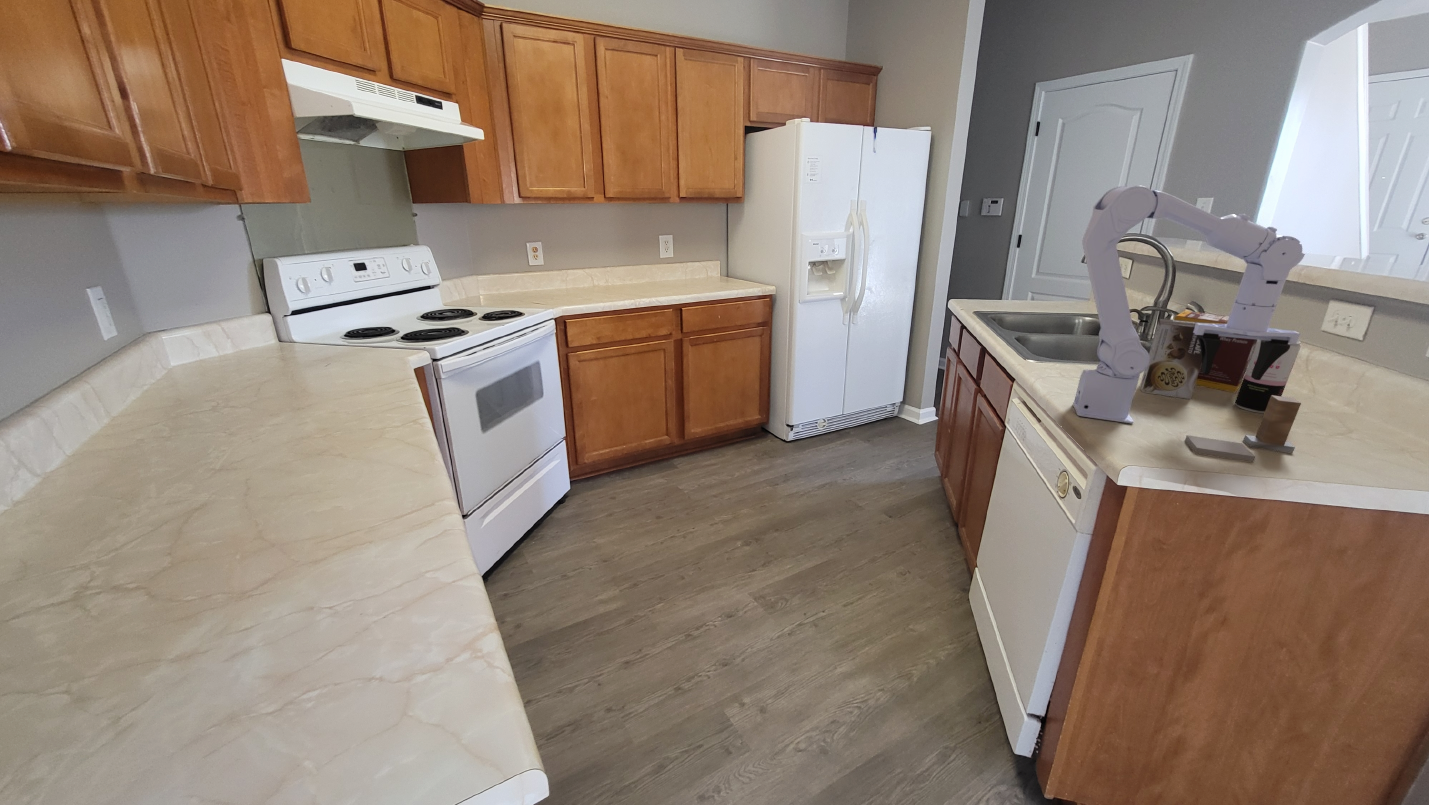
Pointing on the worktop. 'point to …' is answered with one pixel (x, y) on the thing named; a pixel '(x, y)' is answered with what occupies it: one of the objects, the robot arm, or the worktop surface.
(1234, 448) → the tile
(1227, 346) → the supplement box
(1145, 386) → the coffee box
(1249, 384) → the beverage can
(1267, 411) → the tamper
